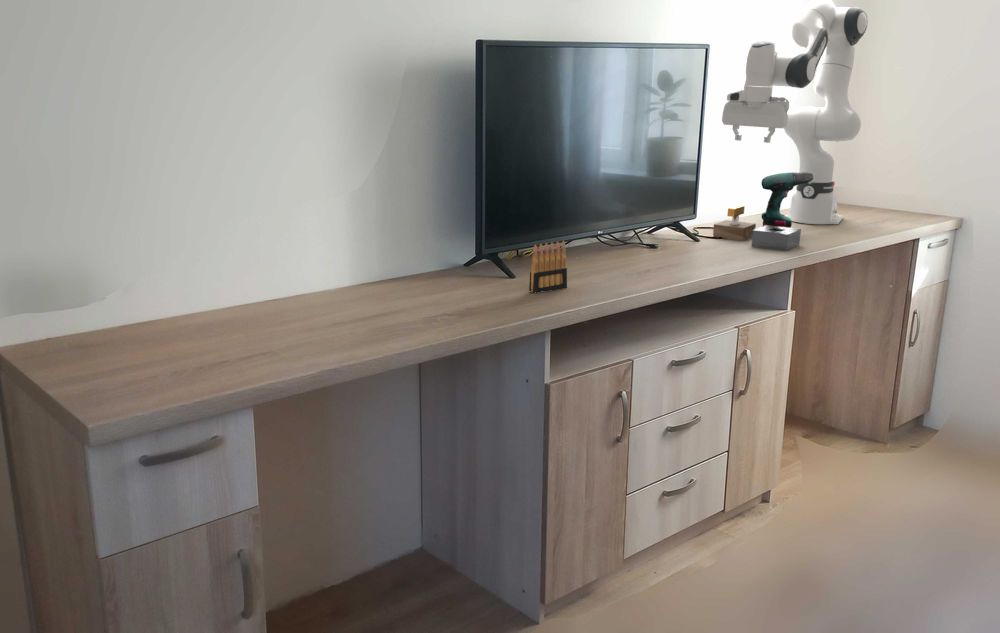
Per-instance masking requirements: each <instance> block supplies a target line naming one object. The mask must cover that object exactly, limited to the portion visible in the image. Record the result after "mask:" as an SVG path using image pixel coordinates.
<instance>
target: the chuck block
mask: <svg viewBox="0 0 1000 633" xmlns="http://www.w3.org/2000/svg"><path fill="white" fill-rule="evenodd" d="M801 232H802V229H801V228H793V227H791V228H786V227H778V226H770V225H765V226H763V225H762V226H759V227H758V228H756V229H755V230H753V235H752V237H751V247H753V248H762V249H769V250H775V251H776V250H777V251H782V250H783V251H782V252H788V251H790V250H793V249H795V248H797V247H799V246H800V244H801V235H802V234H801ZM794 247H795V248H794ZM792 248H793V249H792Z"/></svg>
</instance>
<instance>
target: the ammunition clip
mask: <svg viewBox="0 0 1000 633" xmlns="http://www.w3.org/2000/svg"><path fill="white" fill-rule="evenodd" d="M544 244H545V245H544V247H543V244H542V243H540V244H539V247H538V246H537V244H534V246H533V249H532V257H531V258H532V259H531V263H530V264H531V270H530V272H529V285H528V286H529V287H528V288H529V289H528V292H529V291H531V292H533V293H532V294H534V293H535V292H541V291H547V292H550V291H549V290H552V291H556V289H558V290H563V288H564V289H568V273H567V272H568V268H567V256H566V254H567V252H566V242H565V240H562V242H561V246H560V242H559V240H558V241H556V244H554V242H553V241H551V243H550V246H549V244H548V242H545V243H544ZM531 292H530V293H531ZM541 293H542V292H541ZM535 294H536V293H535Z"/></svg>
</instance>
